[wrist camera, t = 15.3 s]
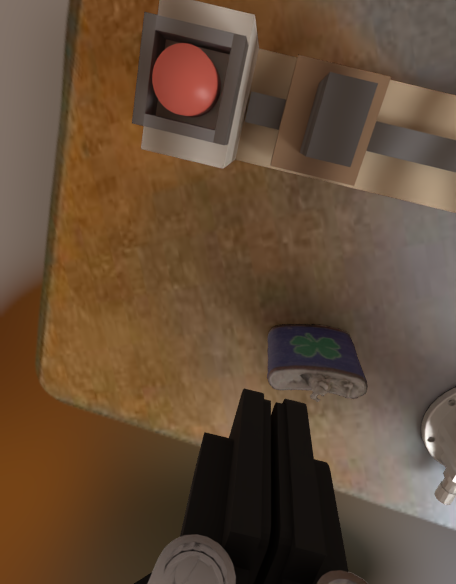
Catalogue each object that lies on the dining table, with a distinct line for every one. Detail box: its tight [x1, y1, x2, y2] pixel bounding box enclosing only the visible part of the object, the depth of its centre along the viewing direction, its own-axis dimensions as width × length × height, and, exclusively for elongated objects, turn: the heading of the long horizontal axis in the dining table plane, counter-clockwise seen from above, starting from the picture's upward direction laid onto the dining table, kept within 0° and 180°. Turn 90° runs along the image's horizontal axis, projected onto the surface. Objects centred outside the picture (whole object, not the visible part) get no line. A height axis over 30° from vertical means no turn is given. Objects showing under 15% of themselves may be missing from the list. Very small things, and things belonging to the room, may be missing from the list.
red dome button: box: [152, 43, 221, 117], centre depth 23 cm, size 4×4×3 cm
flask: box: [267, 324, 367, 402], centre depth 39 cm, size 9×3×11 cm, turn 87°
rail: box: [132, 0, 456, 213], centre depth 29 cm, size 29×9×14 cm, turn 78°
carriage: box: [270, 55, 391, 186], centre depth 29 cm, size 7×8×9 cm
